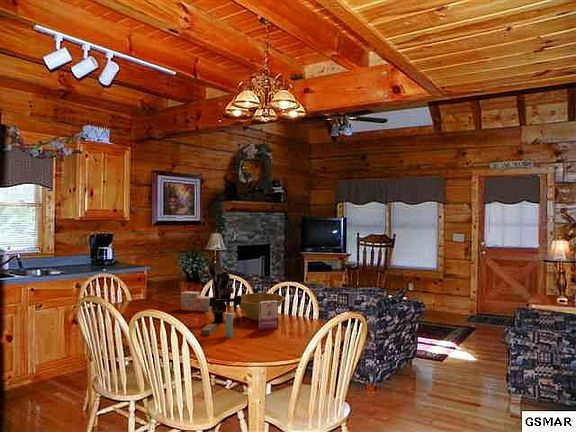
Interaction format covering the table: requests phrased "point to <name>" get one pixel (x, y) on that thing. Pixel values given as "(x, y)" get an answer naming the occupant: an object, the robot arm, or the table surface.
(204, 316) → the table surface
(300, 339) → the table surface
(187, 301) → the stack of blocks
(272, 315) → the candy bar box
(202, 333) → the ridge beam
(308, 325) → the table surface
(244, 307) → the planter bowl
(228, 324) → the rod
